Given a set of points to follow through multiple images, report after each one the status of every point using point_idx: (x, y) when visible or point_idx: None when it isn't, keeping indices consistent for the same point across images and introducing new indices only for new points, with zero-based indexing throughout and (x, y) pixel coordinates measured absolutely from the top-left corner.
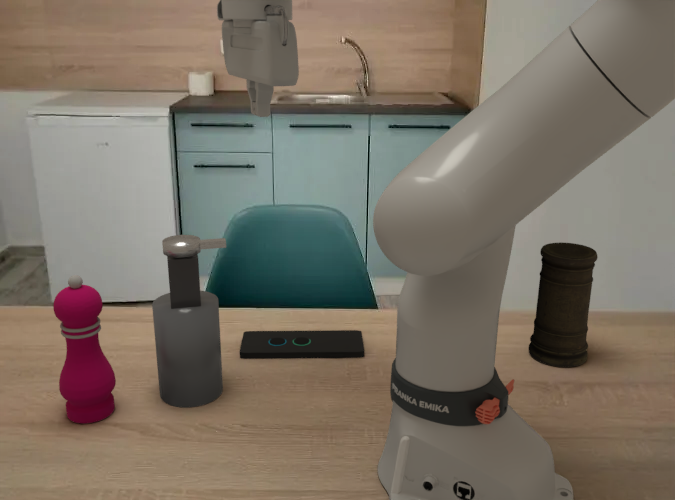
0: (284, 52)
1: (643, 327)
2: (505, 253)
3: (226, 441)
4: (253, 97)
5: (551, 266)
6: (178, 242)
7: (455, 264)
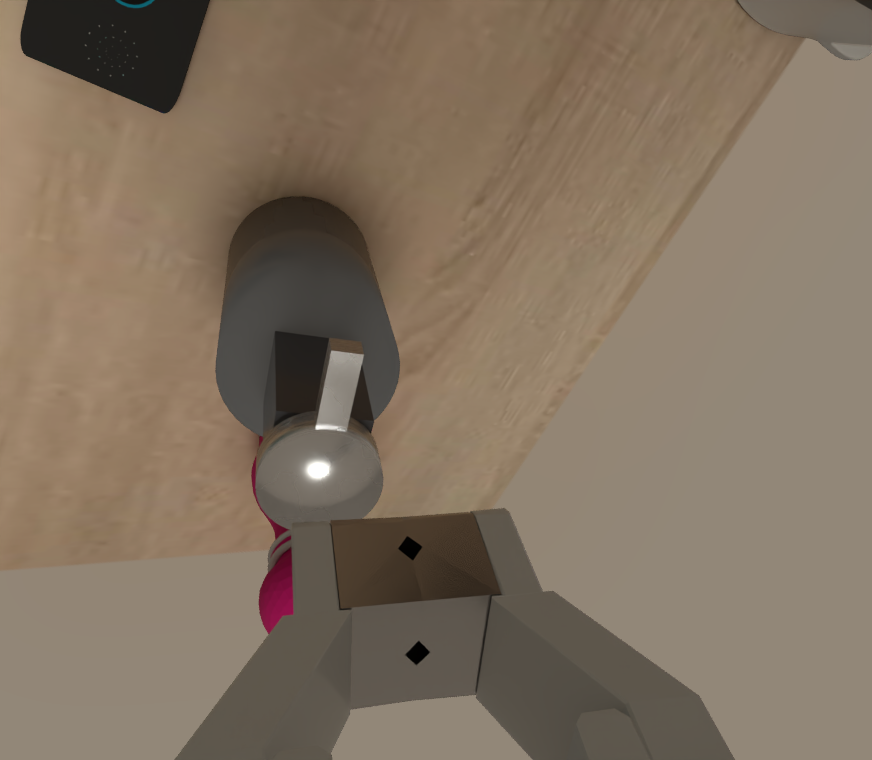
0: None
1: None
2: None
3: (512, 246)
4: (333, 734)
5: None
6: (340, 495)
7: None
